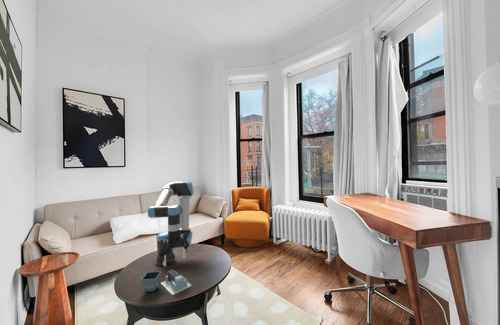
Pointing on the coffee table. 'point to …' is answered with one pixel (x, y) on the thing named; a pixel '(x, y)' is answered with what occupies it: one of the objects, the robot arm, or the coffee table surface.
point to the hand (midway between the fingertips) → (174, 261)
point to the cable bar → (174, 276)
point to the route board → (175, 285)
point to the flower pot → (150, 281)
